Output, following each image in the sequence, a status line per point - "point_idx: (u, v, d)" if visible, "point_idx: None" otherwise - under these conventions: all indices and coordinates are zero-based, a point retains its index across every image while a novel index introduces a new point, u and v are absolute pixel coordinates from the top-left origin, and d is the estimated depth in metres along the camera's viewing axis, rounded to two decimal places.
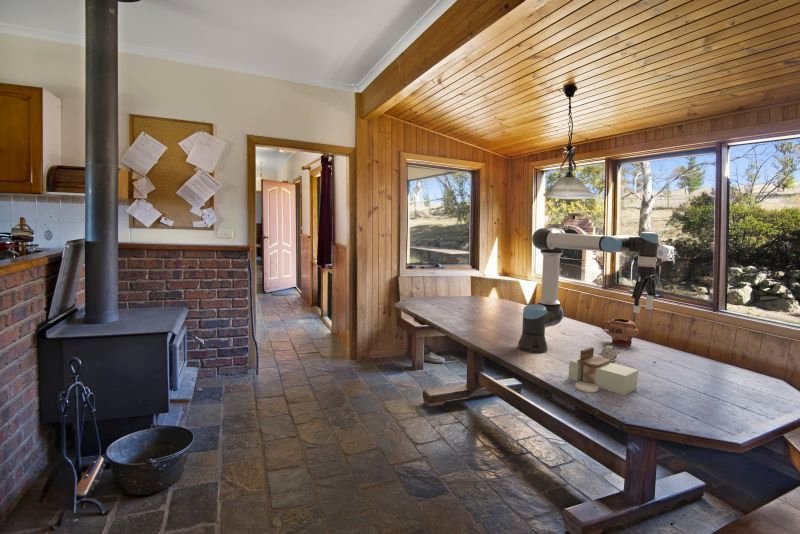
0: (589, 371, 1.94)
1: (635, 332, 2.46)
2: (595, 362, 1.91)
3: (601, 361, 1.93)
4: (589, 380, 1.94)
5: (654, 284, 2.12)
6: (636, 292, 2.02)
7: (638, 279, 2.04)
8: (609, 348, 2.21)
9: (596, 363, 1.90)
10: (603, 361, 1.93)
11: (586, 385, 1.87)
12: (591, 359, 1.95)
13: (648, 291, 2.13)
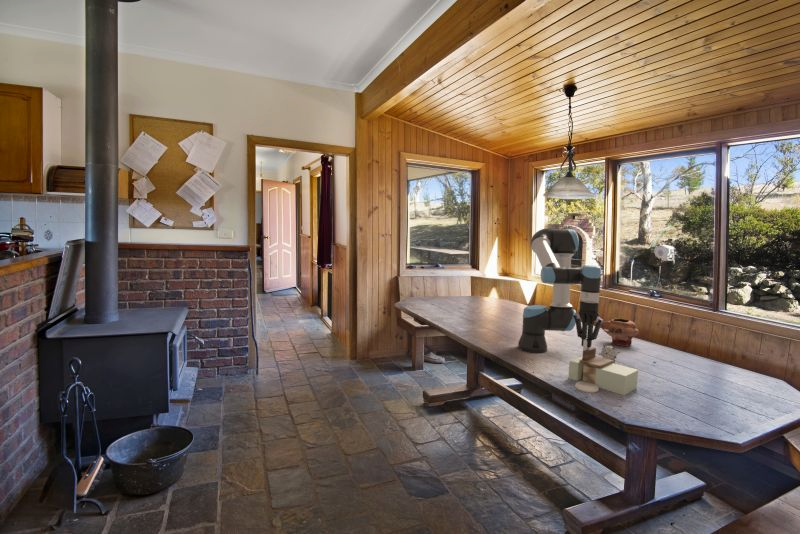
0: (589, 371, 1.94)
1: (635, 332, 2.46)
2: (597, 363, 1.91)
3: (603, 362, 1.92)
4: (589, 380, 1.94)
5: (596, 329, 1.92)
6: None
7: None
8: (609, 348, 2.21)
9: (598, 364, 1.89)
10: (605, 362, 1.92)
11: (586, 385, 1.87)
12: (594, 360, 1.94)
13: None
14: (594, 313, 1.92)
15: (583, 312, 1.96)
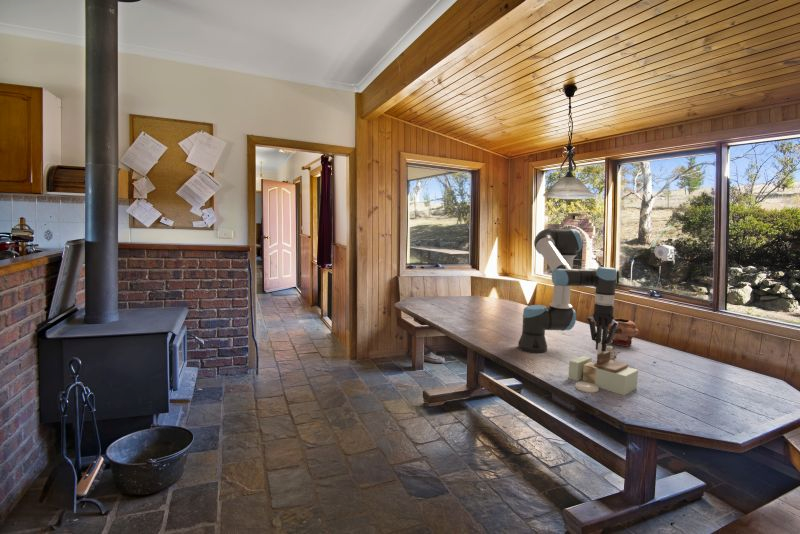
0: (589, 371, 1.94)
1: (635, 332, 2.46)
2: (612, 367, 1.86)
3: (618, 366, 1.87)
4: (589, 380, 1.94)
5: (611, 332, 1.87)
6: None
7: None
8: (609, 348, 2.21)
9: (614, 368, 1.84)
10: (621, 366, 1.87)
11: (586, 385, 1.87)
12: (608, 364, 1.89)
13: None
14: (609, 316, 1.87)
15: (597, 315, 1.91)
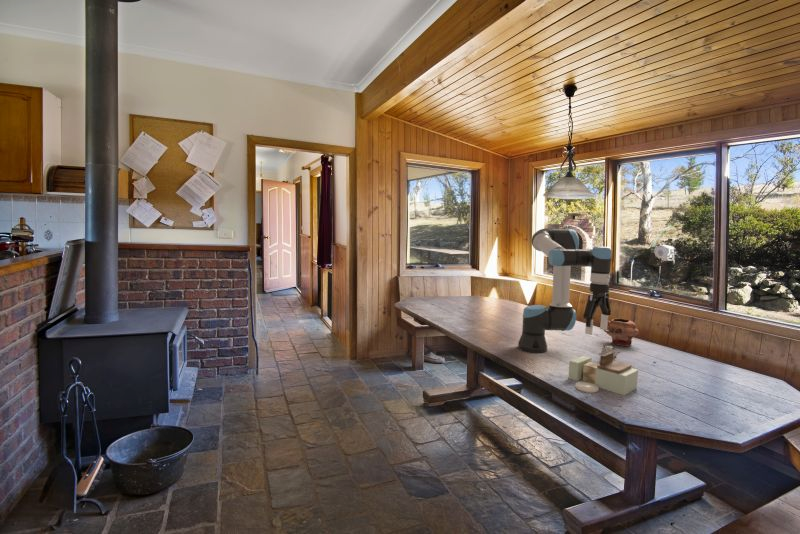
0: (589, 371, 1.94)
1: (635, 332, 2.46)
2: (616, 368, 1.85)
3: (622, 366, 1.86)
4: (589, 380, 1.94)
5: (609, 302, 1.96)
6: (587, 312, 1.86)
7: (590, 298, 1.87)
8: (609, 348, 2.21)
9: (617, 369, 1.83)
10: (624, 366, 1.86)
11: (586, 385, 1.87)
12: (612, 365, 1.88)
13: (602, 310, 1.96)
14: (604, 293, 1.93)
15: (599, 297, 1.90)
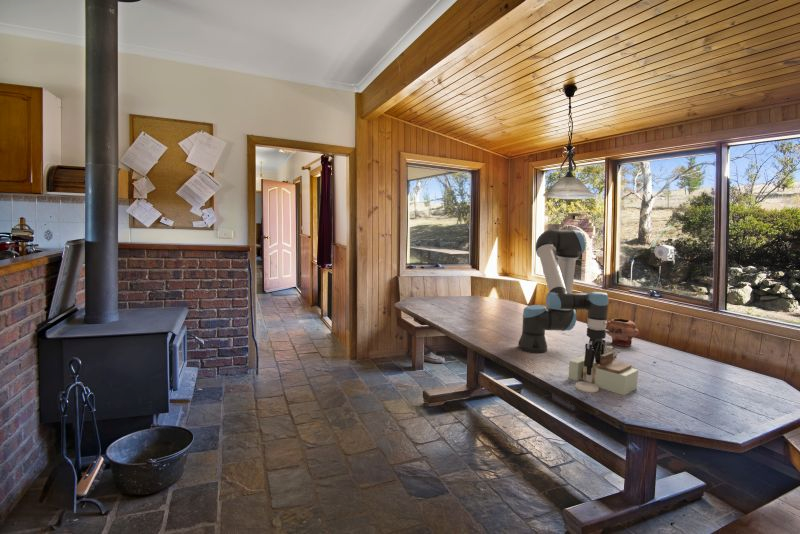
0: None
1: (635, 332, 2.46)
2: (616, 368, 1.85)
3: (622, 366, 1.86)
4: None
5: (603, 350, 1.97)
6: (587, 361, 1.90)
7: (587, 347, 1.90)
8: (609, 348, 2.21)
9: (617, 369, 1.83)
10: (624, 366, 1.86)
11: (586, 385, 1.87)
12: (612, 365, 1.88)
13: (596, 357, 1.97)
14: None
15: (596, 341, 1.92)
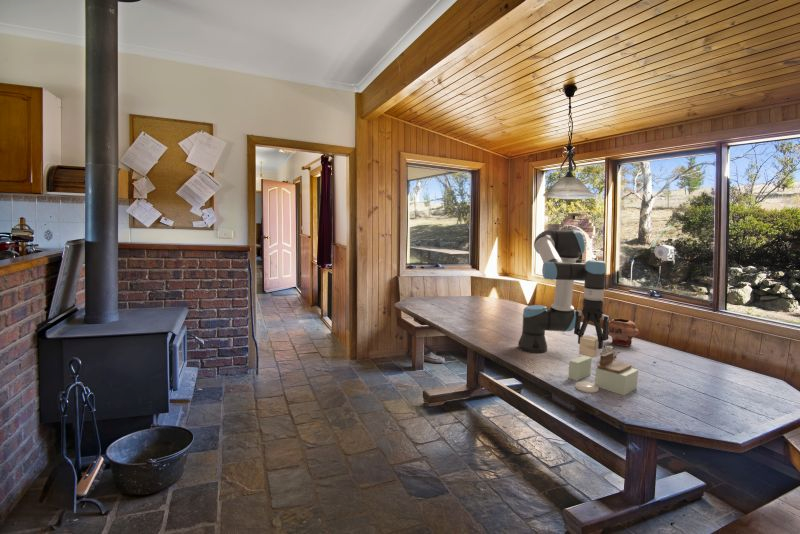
0: None
1: (635, 332, 2.46)
2: (616, 368, 1.85)
3: (622, 366, 1.86)
4: None
5: (604, 327, 1.78)
6: None
7: None
8: (609, 348, 2.21)
9: (617, 369, 1.83)
10: (624, 366, 1.86)
11: (586, 385, 1.87)
12: (612, 365, 1.88)
13: None
14: (598, 311, 1.80)
15: (587, 311, 1.83)
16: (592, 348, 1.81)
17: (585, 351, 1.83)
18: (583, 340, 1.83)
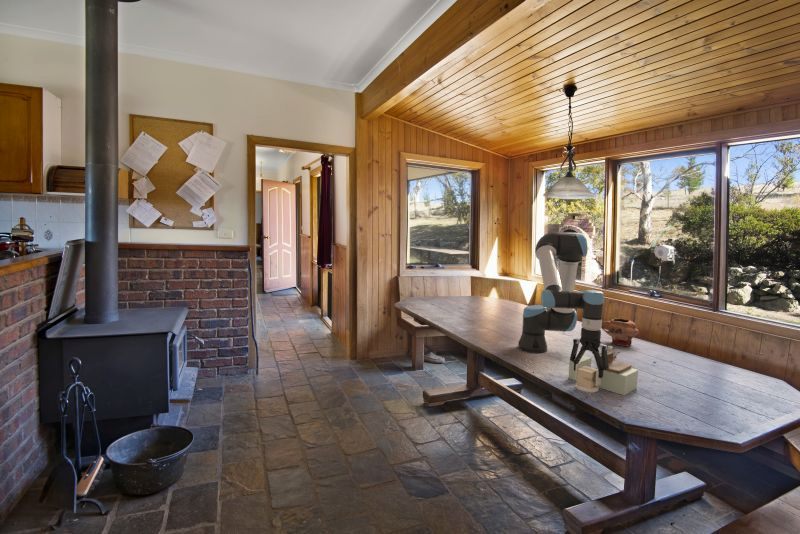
0: None
1: (635, 332, 2.46)
2: (616, 368, 1.85)
3: (622, 366, 1.86)
4: None
5: (603, 357, 1.79)
6: None
7: None
8: (609, 348, 2.21)
9: (617, 369, 1.83)
10: (624, 366, 1.86)
11: None
12: (612, 365, 1.88)
13: None
14: (596, 341, 1.81)
15: (585, 341, 1.85)
16: (589, 380, 1.82)
17: (583, 383, 1.85)
18: (581, 371, 1.85)
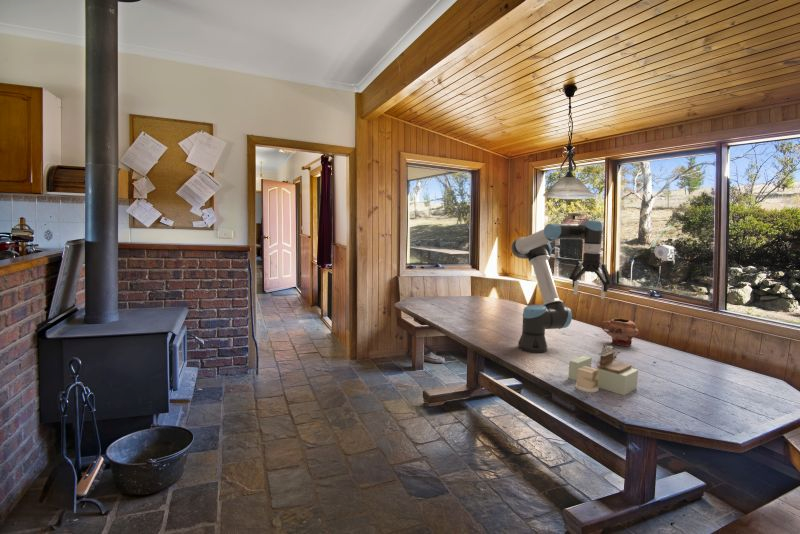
0: None
1: (635, 332, 2.46)
2: (616, 368, 1.85)
3: (622, 366, 1.86)
4: None
5: (605, 273, 2.10)
6: None
7: None
8: (609, 348, 2.21)
9: (617, 369, 1.83)
10: (624, 366, 1.86)
11: None
12: (612, 365, 1.88)
13: None
14: (596, 263, 2.13)
15: (586, 265, 2.16)
16: (589, 380, 1.82)
17: (583, 383, 1.85)
18: (581, 371, 1.85)
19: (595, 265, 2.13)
